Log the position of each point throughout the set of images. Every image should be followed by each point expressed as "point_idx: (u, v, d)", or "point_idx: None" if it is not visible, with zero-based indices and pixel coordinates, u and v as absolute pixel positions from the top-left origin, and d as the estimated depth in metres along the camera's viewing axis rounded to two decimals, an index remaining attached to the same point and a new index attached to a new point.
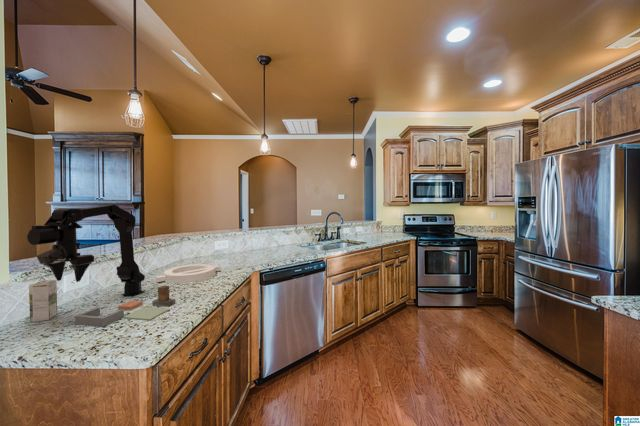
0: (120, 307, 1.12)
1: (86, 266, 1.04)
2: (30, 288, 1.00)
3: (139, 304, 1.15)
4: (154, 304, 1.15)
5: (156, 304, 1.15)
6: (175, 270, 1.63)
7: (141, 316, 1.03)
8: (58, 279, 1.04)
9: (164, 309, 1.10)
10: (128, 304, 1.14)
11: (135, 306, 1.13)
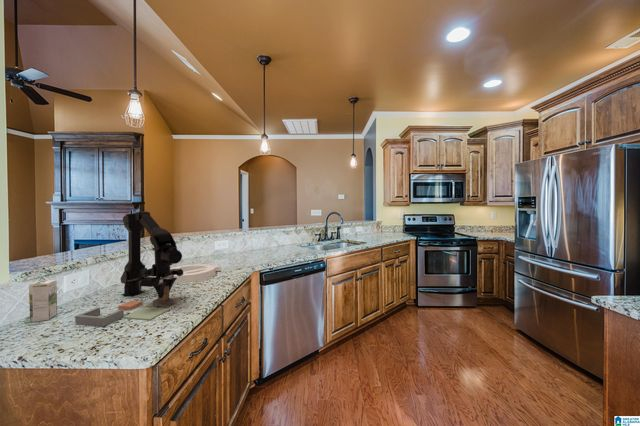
0: (120, 307, 1.12)
1: (160, 286, 1.13)
2: (30, 288, 1.00)
3: (139, 304, 1.15)
4: (154, 304, 1.15)
5: (156, 304, 1.15)
6: None
7: (141, 316, 1.03)
8: None
9: (164, 309, 1.10)
10: (128, 304, 1.14)
11: (135, 306, 1.13)
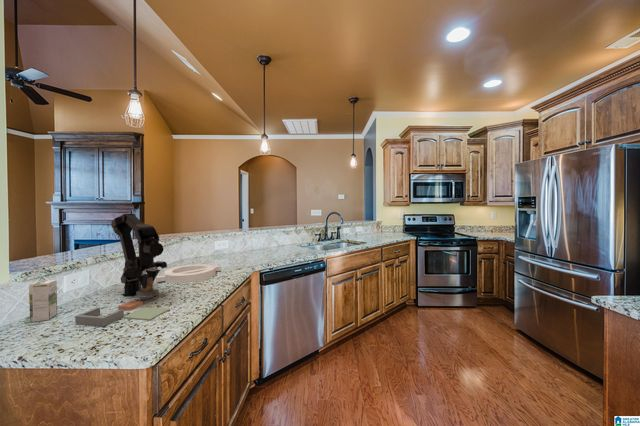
0: (120, 307, 1.12)
1: (144, 277, 1.19)
2: (30, 288, 1.00)
3: (139, 304, 1.15)
4: (138, 294, 1.22)
5: (140, 294, 1.21)
6: (175, 270, 1.63)
7: (141, 316, 1.03)
8: None
9: (164, 309, 1.10)
10: (128, 304, 1.14)
11: (135, 306, 1.13)
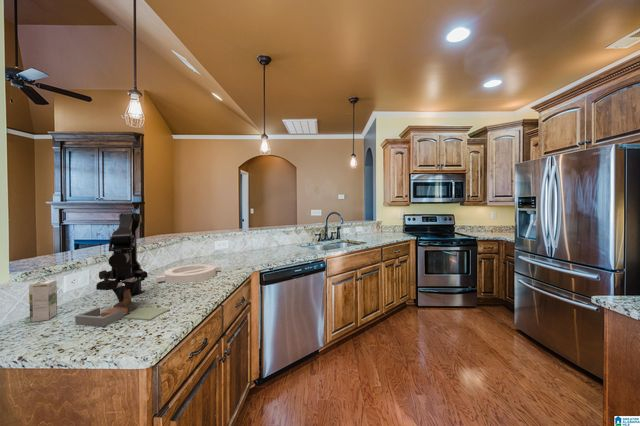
0: (103, 314, 1.04)
1: (120, 290, 1.07)
2: (30, 288, 1.00)
3: (124, 310, 1.08)
4: None
5: None
6: (175, 270, 1.63)
7: (141, 316, 1.03)
8: None
9: (164, 309, 1.10)
10: (112, 310, 1.06)
11: None
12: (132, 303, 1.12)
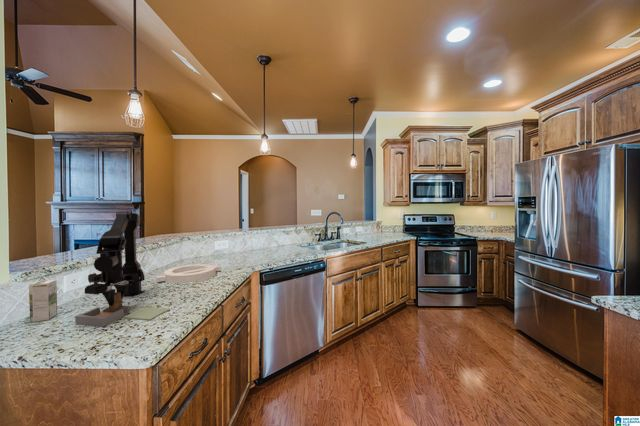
0: None
1: (109, 294, 1.03)
2: (30, 288, 1.00)
3: None
4: None
5: None
6: (175, 270, 1.63)
7: (141, 316, 1.03)
8: None
9: (164, 309, 1.10)
10: (102, 315, 1.02)
11: None
12: (123, 307, 1.08)
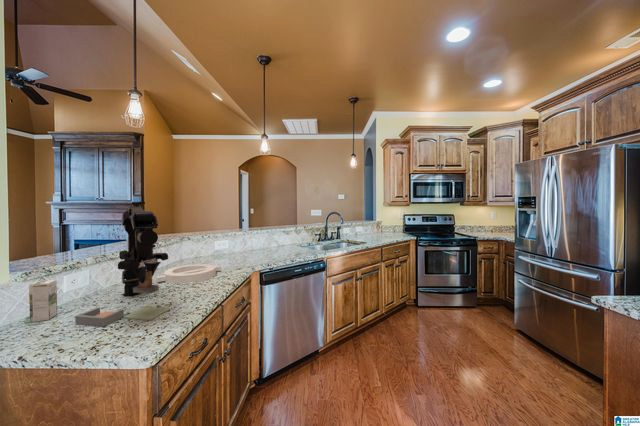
0: None
1: (141, 270, 1.02)
2: (30, 288, 1.00)
3: None
4: (135, 290, 1.05)
5: (137, 290, 1.05)
6: (175, 270, 1.63)
7: (141, 316, 1.03)
8: None
9: (164, 309, 1.10)
10: (102, 315, 1.02)
11: None
12: (153, 286, 1.06)
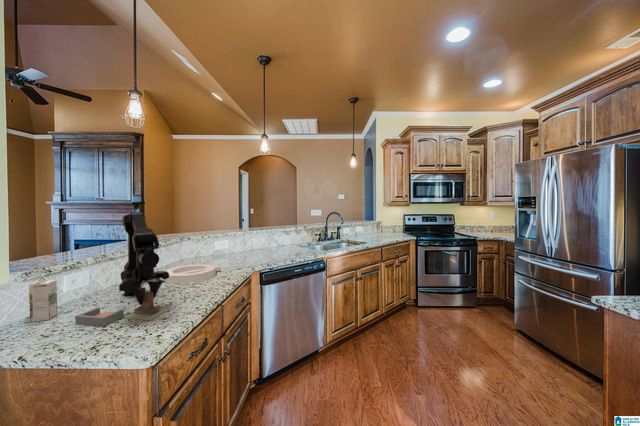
0: None
1: (140, 292, 1.02)
2: (30, 288, 1.00)
3: None
4: (136, 312, 1.06)
5: (139, 312, 1.05)
6: (176, 270, 1.63)
7: (141, 316, 1.03)
8: None
9: (164, 309, 1.10)
10: (102, 315, 1.02)
11: None
12: (154, 307, 1.07)
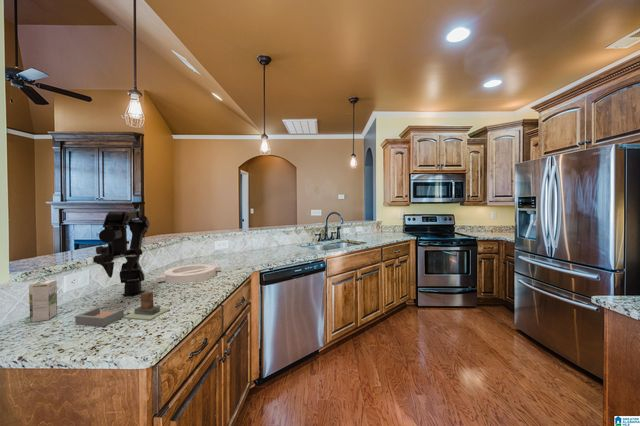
0: None
1: (109, 265, 1.11)
2: (30, 288, 1.00)
3: None
4: (136, 312, 1.06)
5: (139, 312, 1.05)
6: (176, 270, 1.63)
7: (141, 316, 1.03)
8: (128, 270, 1.23)
9: (164, 309, 1.10)
10: (102, 315, 1.02)
11: None
12: (154, 307, 1.07)
